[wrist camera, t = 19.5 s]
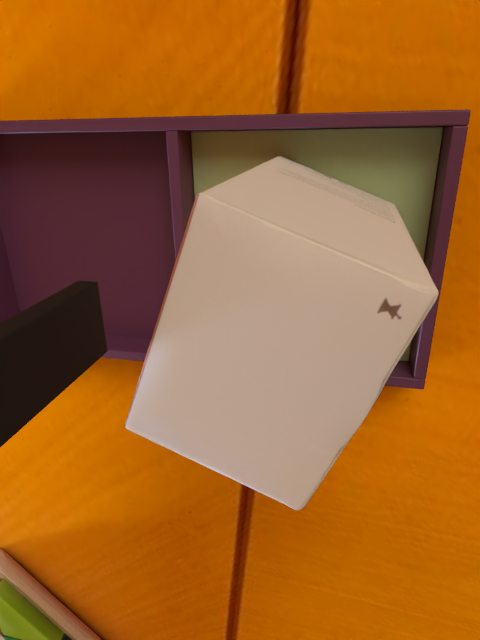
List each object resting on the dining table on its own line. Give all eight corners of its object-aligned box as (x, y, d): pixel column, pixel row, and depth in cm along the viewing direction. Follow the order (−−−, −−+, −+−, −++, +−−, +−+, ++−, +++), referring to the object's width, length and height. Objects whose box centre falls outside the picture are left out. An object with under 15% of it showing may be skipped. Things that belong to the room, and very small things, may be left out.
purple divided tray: (-24, 122, 26) (-61, 122, 24) (457, 111, 20) (471, 109, 18) (23, 330, 31) (-3, 347, 29) (417, 366, 26) (423, 390, 23)
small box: (278, 152, 22) (195, 182, 10) (398, 203, 22) (451, 292, 10) (224, 293, 26) (118, 432, 14) (326, 338, 25) (305, 519, 14)
